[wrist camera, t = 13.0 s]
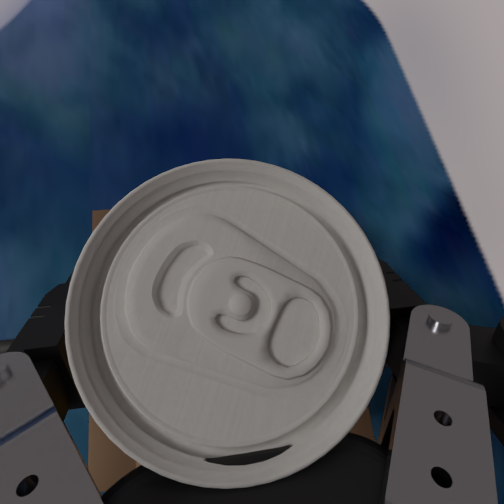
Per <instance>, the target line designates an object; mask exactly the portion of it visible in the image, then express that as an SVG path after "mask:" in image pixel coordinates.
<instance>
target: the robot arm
mask: <svg viewBox="0 0 504 504" xmlns="http://www.w3.org/2000/svg"><path fill="white" fill-rule="evenodd" d="M377 259H378V258H377ZM378 261H379V264H380V266H381V269H382V273H383V276H384V279H385V283H386V288H387V293H388V299H389V310H390V337H389V344H388V351H387V357H386V360H385V364H384V367H390V369H391V370H392V376H391V379H390V384H389V389H388V394H387V399H386V404H385V409H384V414H383V419H382V424H381V429H380V433H379V437H378V441H377V442H374V441H372V440H370V439H368V438H366V437H363V436H361V435H358V434H355V433H350V432H348V433H347V435H346V436H345V437H344V438H343V439H342V440H341V441H340V442H339V443H338V444H337V445H336V446H334V447H333V448H332V449H331V450H330V451H329V452H328V453H326V454H325V455H324V456H322V457H321V458H319V459H318V460H317V461H315V462H314V463H312V464H311V465H309V466H308V467H306V468H304V469H302V470H300V471H298V472H296V473H294V474H292V475H290V476H287V477H284V478H281V479H279V480H276V481H273V482H270V483H266V484H261V485H256V486H251V487H245V488H230V489H221V488H206V487H200V486H195V485H190V484H185V483H181V482H178V481H176V480H173V479H170V478H167V477H164V476H162V475H160V474H158V473H156V472H154V471H152V470H150V469H148V468H146V467H144V466H142V465H140V466H139V467H137V468H135V469H133V470H132V471H130V472H129V473H127V474H126V475H125V476H123V477H122V478H121V479H119V480H118V481H117V482H116V483H115V484H114V485H112V486H111V487H110V488H109V489H108V490H107V491H106V492H105V493H104V494H103V495H101V493H100V491H99V489H98V487H97V485H96V483H95V481H94V479H93V478H92V476H91V474H90V472H89V470H88V468H87V466H86V464H85V462H84V460H83V458H82V456H81V454H80V452H79V450H78V448H77V446H76V444H75V443H74V441H73V439H72V437H71V435H70V433H69V431H68V429H67V427H66V425H65V423H64V419H65V416H66V414H67V411H68V410H69V409H77V408H84V407H85V404H84V403H83V400H82V398H81V396H80V394H79V392H78V389H77V387H76V385H75V382H74V379H73V376H72V372H71V369H70V366H69V361H68V356H67V350H66V344H65V324H64V322H65V309H66V300H67V295H68V290H69V285H70V281H71V278H72V275H73V272H74V270H73V272H72V274H71V275H70V277H69V278H68V280H67V281H66V283H65V284H59V285H58V286H56V287H55V288H54V289H52V290H51V291H50V292H48V293H47V294H46V295H45V296H44V298H43V299H42V301H41V302H40V303H39V305H38V308H37V309H35V311H34V312H33V314H32V315H31V318H30V319H28V321H27V322H26V324H25V325H24V327H23V328H22V329H21V331H20V332H19V334H18V335H17V337H16V338H15V340H14V341H13V342H12V344H11V345H10V347H9V348H8V350H7V351H6V353H3V354H0V504H498V501H497V491H496V482H495V473H494V463H493V454H492V444H491V435H490V429H491V430H492V431H493V433H494V434H495V435H496V437H497V438H498V439H499V441H500V442H501V443H502V445H503V446H504V317H502V319H501V320H500V322H499V324H498V326H497V328H488V327H479V326H471V325H468V324H467V323H466V321H465V320H464V319H463V318H462V317H460V316H459V315H458V314H456V313H455V312H453V311H451V310H449V309H446V308H443V307H440V306H436V305H427V304H426V303H425V302H424V301H423V300H422V299H421V298H420V297H419V296H418V295H417V294H416V293H415V292H414V291H413V290H412V289H411V288H410V287H409V286H408V285H407V284H406V283H405V282H404V281H402V279H401V278H400V277H399V276H398V275H397V274H396V273H395V272H394V271H393V270H392V269H391V267H390V266H389V265H388V264H387V263H385V262H383V261H382V260H380V259H378ZM289 445H291V444H289ZM289 445H286V446H283V447H278V448H272V449H266V450H260V451H254V452H248V453H242V454H235V455H229V456H223V457H217V458H205V460H204V461H206V462H209V463H215V464H220V465H225V466H240V465H249V464H254V463H259V462H264V461H266V460H269V459H271V458H273V457H276V456H278V455H280V454H282V453H283V452H285V451H286V450H288V449H289V448H290V447H292V446H293V445H291V446H289Z"/></svg>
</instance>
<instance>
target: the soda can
mask: <svg viewBox="0 0 504 504" xmlns="http://www.w3.org/2000/svg"><path fill="white" fill-rule="evenodd" d="M64 324H65V344H66V350H67V356H68V361H69V366H70V369H71V372H72V376H73V379H74V382H75V385H76V387H77V389H78V392H79V394H80V396H81V398H82V400H83V403H84V404H85V406H86V408H87V409H88V411H89V413H90V414H91V416H92V417H93V419H94V421H95V422H96V423H97V424H98V426H99V427H100V428H101V429H102V431H103V432H104V433H105V434H106V435H107V437H108V438H109V439H110V440H111V441H112V442H113V443H114V444H116V445H117V446H118V447H119V448H120V449H121V450H122V451H123V452H124V453H125V454H127V455H128V456H130V457H131V458H132V459H134V460H135V461H137V462H138V463H140V464H141V465H142V466H144V467H146V468H148V469H150V470H152V471H154V472H156V473H158V474H160V475H162V476H164V477H167V478H170V479H173V480H176V481H178V482H181V483H185V484H190V485H195V486H200V487H206V488H221V489H230V488H245V487H251V486H256V485H261V484H266V483H270V482H273V481H276V480H279V479H281V478H284V477H287V476H290V475H292V474H294V473H296V472H298V471H300V470H302V469H304V468H306V467H308V466H309V465H311V464H312V463H314V462H315V461H317V460H318V459H319V458H321V457H322V456H324V455H325V454H326V453H328V452H329V451H330V450H331V449H332V448H333V447H334V446H336V445H337V444H338V443H339V442H340V441H341V440H342V439H343V438H344V437H345V436H346V435H347V433H348V432H349V431H350V430H351V429H352V428H353V427H354V425H355V424H356V423H357V421H358V420H359V418H360V417H361V415H362V414H363V412H364V411H365V410H366V408H367V406H368V404H369V402H370V400H371V398H372V396H373V395H374V393H375V390H376V388H377V385H378V383H379V380H380V378H381V375H382V372H383V368H384V364H385V360H386V357H387V351H388V344H389V337H390V310H389V299H388V293H387V288H386V283H385V279H384V276H383V273H382V269H381V266H380V264H379V261H378V259H377V256H376V254H375V252H374V249H373V248H372V246H371V244H370V242H369V240H368V239H367V237H366V235H365V233H364V232H363V230H362V229H361V228H360V226H359V225H358V223H357V222H356V221H355V219H354V218H353V217H352V216H351V215H350V214H349V212H348V211H347V210H346V209H345V208H344V207H343V206H342V205H341V204H340V203H339V202H338V201H337V200H336V199H335V198H333V197H332V196H331V195H330V194H329V193H327V192H326V191H325V190H323V189H322V188H321V187H319V186H318V185H316V184H314V183H313V182H311V181H309V180H308V179H306V178H304V177H302V176H300V175H298V174H296V173H294V172H292V171H290V170H287V169H284V168H281V167H278V166H275V165H272V164H267V163H263V162H259V161H252V160H245V159H214V160H205V161H200V162H194V163H190V164H187V165H183V166H180V167H176V168H174V169H171V170H169V171H166V172H164V173H161V174H159V175H157V176H156V177H154V178H152V179H150V180H148V181H146V182H144V183H143V184H142V185H140V186H139V187H137V188H136V189H134V190H133V191H131V192H130V193H129V194H128V195H126V196H125V197H124V198H123V199H122V200H120V201H119V202H118V203H117V204H116V205H115V206H114V207H113V208H112V209H111V210H110V211H109V212H108V213H107V214H106V216H105V217H104V218H103V219H102V221H101V222H100V223H99V224H98V226H97V227H96V228H95V230H94V231H93V233H92V234H91V236H90V238H89V239H88V241H87V243H86V244H85V246H84V248H83V250H82V252H81V254H80V257H79V259H78V261H77V263H76V266H75V269H74V272H73V275H72V278H71V281H70V285H69V290H68V295H67V300H66V309H65V322H64ZM289 444H291V445H293V446H292V447H290V448H289V449H288V450H286V451H285V452H283V453H282V454H280V455H278V456H276V457H273V458H271V459H269V460H266V461H264V462H259V463H254V464H249V465H240V466H225V465H220V464H215V463H209V462H206V461H204V460H205V458H217V457H223V456H229V455H235V454H242V453H248V452H254V451H260V450H266V449H272V448H278V447H283V446H286V445H289ZM291 445H289V446H291Z"/></svg>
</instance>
